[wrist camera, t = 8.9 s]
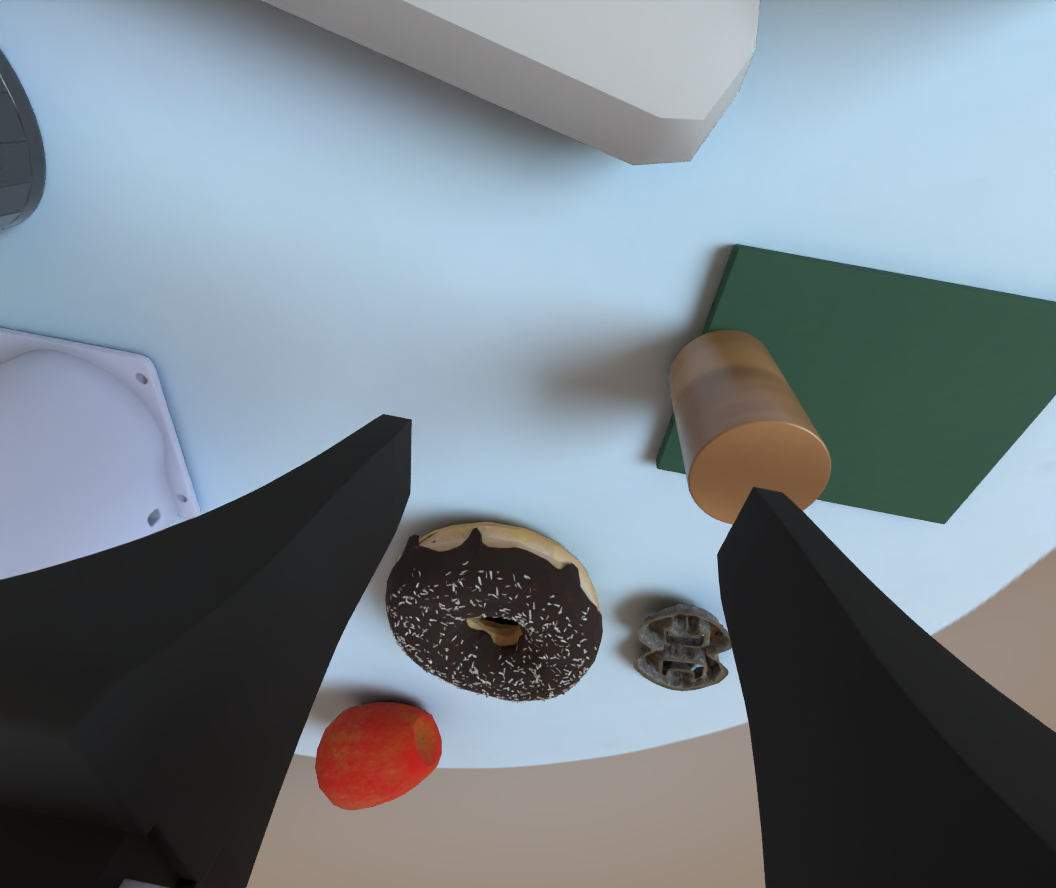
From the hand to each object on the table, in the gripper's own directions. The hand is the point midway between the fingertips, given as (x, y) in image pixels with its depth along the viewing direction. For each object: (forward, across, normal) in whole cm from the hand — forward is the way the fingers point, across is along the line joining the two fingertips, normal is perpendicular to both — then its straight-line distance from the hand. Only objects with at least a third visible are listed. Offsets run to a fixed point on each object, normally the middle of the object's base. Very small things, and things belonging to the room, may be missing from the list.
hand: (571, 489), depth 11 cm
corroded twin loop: (+10, -9, +17) cm, 21 cm away
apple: (+7, +4, +29) cm, 30 cm away
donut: (+10, +1, +16) cm, 19 cm away
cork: (+9, -5, +1) cm, 10 cm away
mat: (+10, -10, +1) cm, 14 cm away
